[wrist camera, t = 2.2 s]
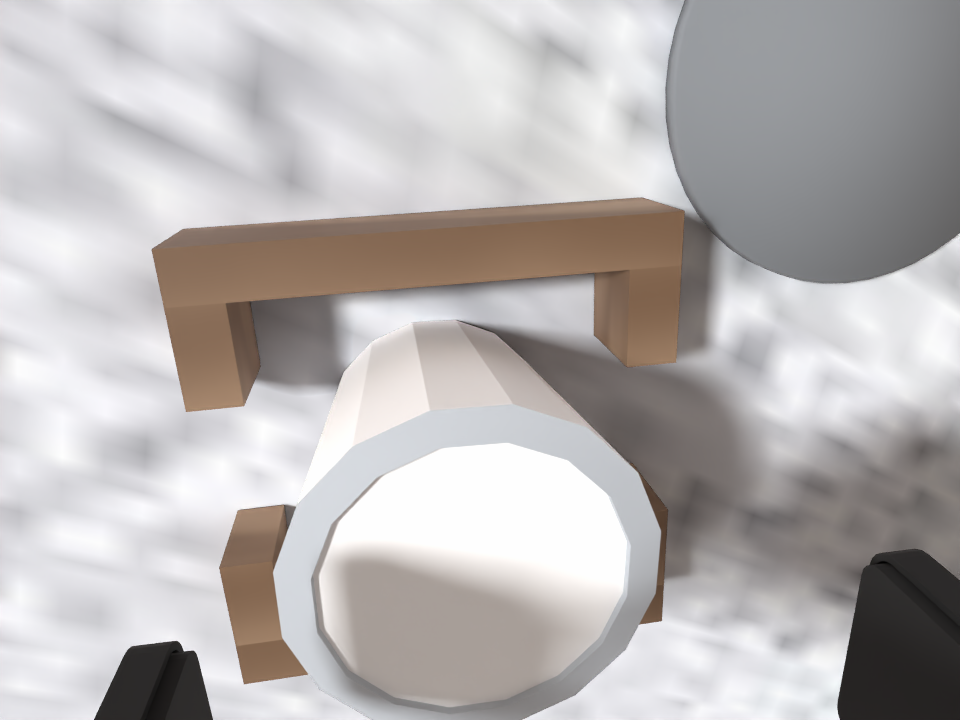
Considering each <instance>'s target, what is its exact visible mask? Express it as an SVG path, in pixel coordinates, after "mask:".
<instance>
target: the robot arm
mask: <svg viewBox="0 0 960 720" xmlns="http://www.w3.org/2000/svg"><path fill="white" fill-rule="evenodd" d="M837 708H838V714H839V718H840V720H960V580H958V579H957V578H956V577H955V576H954V575H952V574H951V573H950V572H949V571H948V570H947V569H945V568H944V567H943V566H942V565H941V564H939V563H938V562H937V561H936V560H935V559H933V558H932V557H931V556H930V555H928V554H927V553H925V552H924V551H922V550H918V549H910V550H902V551H894V552H886V553H880V554H876V555H875V556H874V557H873V558H872V560H871V563H870V565H869V566H866V567H865V568H864V569H863V572H862V576H861V581H860V586H859V592H858V597H857V602H856V608H855V613H854V618H853V624H852V629H851V634H850V639H849V645H848V650H847V655H846V661H845V666H844V671H843V677H842V682H841V687H840V692H839V698H838V706H837ZM94 720H213V718H212V714H211V710H210V706H209V701H208V697H207V693H206V689H205V685H204V681H203V677H202V673H201V669H200V665H199V661H198V657H197V654H196V653H195V652H194V651H186V652H184V651H183V648H182V646H181V644H180V643H179V642H178V641H171V642H163V643H155V644H147V645H139V646H132V647H131V648H129V649H128V650H127V652H126V653H125V655H124V657H123V659H122V661H121V663H120V665H119V667H118V670H117V672H116V674H115V676H114V678H113V680H112V682H111V685H110V687H109V689H108V691H107V693H106V695H105V697H104V699H103V702H102V704H101V706H100V708H99V710H98V712H97V714H96V716H95V719H94Z"/></svg>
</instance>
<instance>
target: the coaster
mask: <svg viewBox="0 0 960 720" xmlns="http://www.w3.org/2000/svg"><path fill="white" fill-rule="evenodd" d="M665 90H666V123H667V130H668V137H669V145H670V149H671V153H672V156H673V160H674V164H675V168H676V171H677V174H678V176H679V178H680V181H681V183H682V186H683V188H684V191H685V193H686V195H687V197H688V198H689V200H690V202H691V204H692V205H693V207H694V209H695V210H696V212H697V214H698V215H699V217H700V218H701V219H702V220H703V222H704V223H705V224H706V225H707V227H708V228H709V229H710V230H711V231H712V233H713V234H714V235H715V236H716V237H718V238H719V239H720V240H721V241H722V242H723V243H724V244H725V245H726V246H727V247H729V248H730V249H731V250H733V251H734V252H736V253H737V254H739V255H740V256H742V257H743V258H745V259H746V260H748V261H750V262H752V263H754V264H756V265H759V266H761V267H763V268H765V269H767V270H770V271H772V272H775V273H777V274H780V275H784V276H787V277H791V278H794V279H798V280H802V281H810V282H818V283H848V282H854V281H860V280H867V279H871V278H874V277H878V276H881V275H885V274H888V273H892V272H894V271H896V270H899V269H901V268H903V267H906V266H908V265H910V264H913V263H915V262H916V261H918V260H920V259H922V258H923V257H925V256H927V255H929V254H930V253H932V252H934V251H936V250H937V249H939V248H940V247H941V246H943V245H944V244H945V243H947V242H948V241H950V240H951V239H952V238H954V237H955V236H957V235H958V234H959V233H960V0H685V1H684V4H683V7H682V10H681V13H680V16H679V19H678V22H677V25H676V28H675V32H674V37H673V41H672V46H671V50H670V55H669V60H668V70H667V79H666V89H665Z"/></svg>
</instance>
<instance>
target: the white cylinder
mask: <svg viewBox="0 0 960 720" xmlns="http://www.w3.org/2000/svg"><path fill="white" fill-rule="evenodd" d="M660 539H661V530H660V527H659V525H658V522H657V520H656V517H655V514H654V512H653V509H652V507H651V504H650V502H649V499H648V496H647V494H646V491H645V489H644V486H643V484H642V481H641V479H640V476H639V473H638V472H637V471H636V470H635V469H634V468H633V467H632V466H631V465H630V464H629V463H628V462H627V461H626V460H625V459H624V458H623V457H622V456H621V455H620V454H619V453H618V452H617V451H616V450H615V449H614V448H613V447H612V446H611V445H610V444H609V443H608V442H607V441H606V440H605V439H604V438H603V437H602V436H601V435H599V434H598V433H597V432H596V431H595V430H594V429H593V428H592V427H591V426H590V425H589V424H588V423H587V422H586V421H585V420H584V419H583V418H582V417H581V416H580V415H579V414H578V413H577V412H576V411H575V410H574V409H573V408H572V407H571V406H570V405H569V404H568V403H567V402H566V401H565V400H564V399H563V398H562V397H561V396H560V395H559V394H558V393H557V392H556V391H555V390H554V389H553V388H552V387H551V386H550V385H549V384H548V383H547V382H546V381H545V380H544V379H543V378H542V377H541V376H540V375H539V374H538V373H537V372H536V371H535V370H534V369H533V368H532V367H531V366H530V365H529V364H528V363H527V362H526V361H525V360H524V359H523V358H521V357H520V356H519V355H518V354H517V353H516V352H515V351H514V350H513V349H511V348H510V347H509V346H508V345H507V344H506V343H505V342H504V341H503V340H501V339H500V338H499V337H498V336H497V335H496V334H495V333H492V332H489V331H486V330H483V329H480V328H478V327H475V326H472V325H469V324H466V323H463V322H460V321H457V320H446V321H428V322H412V323H410V324H408V325H405V326H403V327H401V328H399V329H397V330H395V331H393V332H390V333H388V334H386V335H384V336H382V337H380V338H377V339H375V340H373V341H372V342H371V343H370V344H369V345H368V346H367V347H366V348H365V349H364V351H363V352H362V353H361V354H360V355H359V356H358V357H357V358H356V359H355V360H354V361H353V362H352V363H351V364H350V366H349V367H348V368H347V369H346V370H345V371H344V373H343V376H342V379H341V381H340V384H339V387H338V390H337V393H336V396H335V398H334V401H333V404H332V407H331V410H330V412H329V415H328V418H327V421H326V424H325V427H324V429H323V432H322V435H321V438H320V441H319V444H318V446H317V449H316V452H315V455H314V458H313V461H312V463H311V466H310V469H309V472H308V475H307V477H306V480H305V483H304V486H303V489H302V492H301V494H300V497H299V500H298V503H297V506H296V509H295V511H294V514H293V517H292V520H291V523H290V526H289V528H288V531H287V534H286V537H285V540H284V543H283V545H282V548H281V551H280V554H279V557H278V560H277V562H276V565H275V568H274V571H273V576H274V583H275V591H276V598H277V605H278V612H279V619H280V626H281V633H282V638H283V640H284V641H285V642H286V644H287V645H288V647H289V648H290V649H291V651H292V652H293V654H294V655H295V656H296V658H297V659H298V660H299V662H300V663H301V665H302V666H303V667H304V669H305V670H306V672H307V673H308V674H309V676H310V677H311V679H312V680H313V681H314V683H315V684H316V686H317V687H318V688H319V690H321V691H323V692H324V693H326V694H328V695H330V696H331V697H333V698H335V699H337V700H338V701H340V702H342V703H343V704H345V705H347V706H349V707H350V708H352V709H354V710H356V711H357V712H359V713H361V714H363V715H364V716H366V717H368V718H369V719H371V720H522V719H524V718H527V717H529V716H531V715H533V714H535V713H537V712H540V711H542V710H544V709H546V708H548V707H550V706H553V705H555V704H557V703H559V702H561V701H563V700H566V699H568V698H570V697H572V696H574V695H576V694H577V693H578V692H579V691H580V690H581V689H583V688H584V687H585V686H586V685H587V684H588V683H589V682H590V681H591V680H592V679H594V678H595V677H596V676H597V675H598V674H599V673H600V672H601V671H602V670H604V669H605V668H606V667H607V666H608V665H609V664H610V663H611V662H612V661H613V660H615V659H616V658H617V657H618V656H619V655H620V654H621V653H622V652H623V651H625V649H626V648H627V646H628V644H629V642H630V640H631V638H632V636H633V635H634V633H635V631H636V629H637V627H638V625H639V623H640V622H641V620H642V618H643V616H644V614H645V612H646V610H647V608H648V607H649V605H650V603H651V601H652V599H653V597H654V595H655V594H656V584H657V573H658V562H659V550H660Z"/></svg>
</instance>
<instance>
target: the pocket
mask: <svg viewBox="0 0 960 720" xmlns="http://www.w3.org/2000/svg"><path fill="white" fill-rule="evenodd" d="M684 213H685V211H683V210H680V209H677V208H674V207H670V206H667V205H664V204H661V203H658V202H654V201H651V200H648V199H645V198H628V199H613V200H599V201H584V202H569V203H555V204H540V205H526V206H511V207H496V208H482V209H467V210H453V211H438V212H423V213H409V214H394V215H380V216H365V217H350V218H336V219H321V220H307V221H292V222H277V223H263V224H248V225H234V226H219V227H204V228H190V229H182V230H181V231H179V232H178V233H176V234H175V235H173V236H171V237H170V238H168V239H167V240H165V241H164V242H162V243H160V244H159V245H157V246H156V247H154V248H153V249H152V254H153V258H154V263H155V268H156V272H157V277H158V282H159V287H160V291H161V296H162V301H163V305H164V310H165V315H166V320H167V324H168V329H169V334H170V338H171V343H172V348H173V352H174V357H175V362H176V367H177V371H178V376H179V381H180V385H181V390H182V395H183V400H184V404H185V409H186V412H191V411H201V410H211V409H221V408H230V407H240V406H244V405H245V403H246V400H247V398H248V396H249V393H250V391H251V388H252V386H253V384H254V381H255V379H256V376H257V374H258V372H259V369H260V367H261V365H260V359H259V353H258V347H257V341H256V335H255V329H254V323H253V317H252V311H251V305H250V301H257V300H270V299H282V298H294V297H306V296H318V295H330V294H342V293H355V292H367V291H379V290H391V289H403V288H415V287H428V286H440V285H452V284H464V283H476V282H488V281H500V280H513V279H525V278H537V277H549V276H561V275H573V274H585V273H595V278H594V336H595V337H596V338H598V339H599V340H600V341H601V342H602V343H603V344H604V345H605V346H606V347H607V348H608V349H609V350H610V351H611V352H612V353H613V354H614V355H615V356H616V357H617V358H618V359H619V360H620V361H621V362H622V363H623V364H624V365H625V366H626V367H636V366H646V365H656V364H666V363H676V357H677V339H678V321H679V303H680V285H681V267H682V249H683V231H684ZM630 465H631V466H632V467H633V468H634V469H635V470H636V471H637V472H638V473H639V476H640V479H641V481H642V484H643V486H644V489H645V491H646V494H647V496H648V499H649V502H650V504H651V507H652V509H653V512H654V514H655V517H656V520H657V522H658V525H659V527H660V530H661V539H660V550H659V562H658V573H657V584H656V594H655V595H654V597H653V599H652V601H651V603H650V605H649V607H648V608H647V610H646V612H645V614H644V616H643V618H642V620H641V622H640V623H639V624H646V623H652V622H659V621H662V607H663V589H664V571H665V554H666V536H667V518H668V509H667V508H666V507H665V505H664V504H663V503H662V501H661V500H660V499H659V497H658V496H657V495H656V493H655V492H654V491H653V489H652V488H651V487H650V486H649V484H648V483H647V482H646V480H645V479H644V478H643V476H642V475H641V474H640V472H639V471H638V470H637V468H636V467H635V466H634V464H633V463H630ZM287 531H288V527H287V521H286V515H285V509H284V505H279V506H271V507H262V508H254V509H246V510H238V512H237V515H236V518H235V521H234V524H233V527H232V530H231V533H230V537H229V540H228V543H227V546H226V549H225V552H224V555H223V558H222V561H221V564H220V567H219V569H220V574H221V578H222V583H223V588H224V593H225V597H226V602H227V607H228V611H229V616H230V621H231V626H232V630H233V635H234V640H235V644H236V649H237V654H238V658H239V663H240V668H241V673H242V677H243V682H244V684H248V683H255V682H262V681H268V680H275V679H282V678H288V677H295V676H301V675H308V673H307V672H306V670H305V669H304V667H303V666H302V665H301V663H300V662H299V660H298V659H297V658H296V656H295V655H294V654H293V652H292V651H291V649H290V648H289V647H288V645H287V644H286V642H285V641H284V640H283V638H282V633H281V626H280V619H279V612H278V605H277V598H276V591H275V583H274V576H273V571H274V568H275V565H276V562H277V560H278V557H279V554H280V551H281V548H282V545H283V543H284V540H285V537H286V534H287Z"/></svg>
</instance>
